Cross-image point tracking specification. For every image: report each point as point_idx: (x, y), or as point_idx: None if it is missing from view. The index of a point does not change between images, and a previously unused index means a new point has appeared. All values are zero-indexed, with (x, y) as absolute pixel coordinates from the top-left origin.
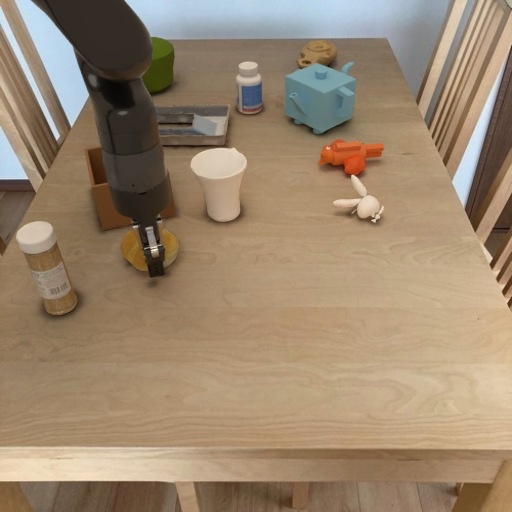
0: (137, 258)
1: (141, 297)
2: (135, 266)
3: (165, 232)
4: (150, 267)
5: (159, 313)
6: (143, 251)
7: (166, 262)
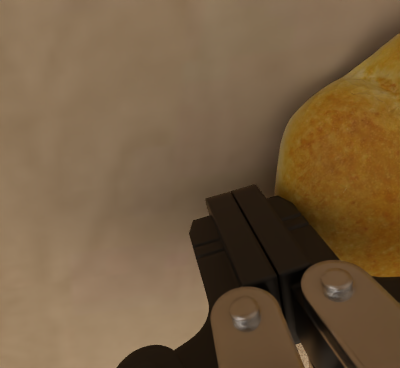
0: (342, 140)
1: (108, 139)
2: (308, 108)
3: None
4: (222, 247)
5: (3, 229)
6: (304, 296)
7: None
